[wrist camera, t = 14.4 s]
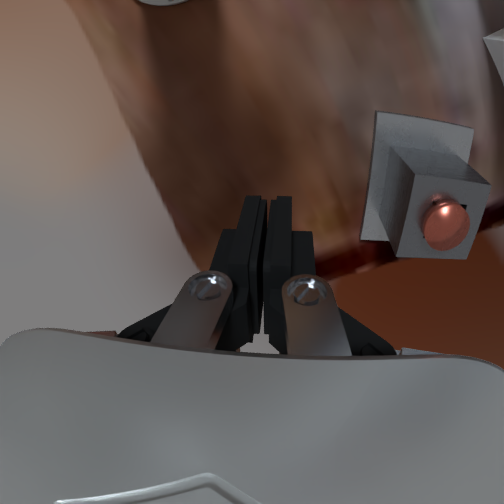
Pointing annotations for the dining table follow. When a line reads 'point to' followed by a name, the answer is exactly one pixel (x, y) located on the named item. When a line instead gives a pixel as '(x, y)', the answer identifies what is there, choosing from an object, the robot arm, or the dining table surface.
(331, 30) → the dining table surface
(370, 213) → the receiver
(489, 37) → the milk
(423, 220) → the pin
